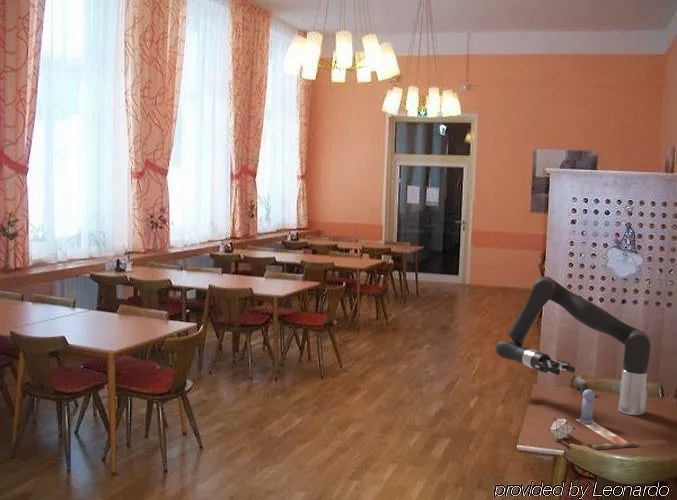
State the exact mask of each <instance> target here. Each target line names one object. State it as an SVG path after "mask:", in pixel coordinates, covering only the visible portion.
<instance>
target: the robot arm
mask: <svg viewBox="0 0 677 500" xmlns="http://www.w3.org/2000/svg"><path fill="white" fill-rule="evenodd" d="M548 301H552V302H553V303H556V304H557V305H559V306H561V307H562V308H563V309H564V310H565V311H566V312H567V313H568V314H570V315H571V316H572V317H573V318H574V319H575V320H577V321H578V322H579V323H582V324H583V325H585V326H586V327H587V328H590V329H592V330H594V331H597V332H600V333H602V334H605V335H609V336H610V337H612V338H614V339H616V340H617V341H618V342H620V343H621V344H623V345H624V355H623V363H622V372H621V382H620V392H619V402H618V410H619V412H621V413H623V414H626V415H631V416H641V415H643V414H645V413H646V405H647V396H648V391H647V389H646V386H647V377H648V376H647V375H648V368H649V363H650V351H651V341H650V337H649V335H647V333H646V332H644V331H642V330H640V329H638V328H636V327H634V326H631V325H629V324H627V323H625V322H623V321H621V320H620V319H619V318H617V317H616V316H613V314H612V313H610V312H608V311H606V310H605V309H603V308H601V306H598V305H596V304H595V303H593V302H591V301H589V300H587V299H585V298H583V296H580V295H578V294H576V293H574V292H572V291H570V290H569V289H568V288H566V287H564V286H562V285H561V284H560V283H559V282H557V281H556V280H554V279H553V278H552V277H550V276H544V275H543V276H540V277H538V278H537V279H536V280H535V281H534V283H533V285H532V289H531V291H530V295H529V297H528V300H527V302H526V303H525V305H524V307H522V308H523V309H522V310H521V312H520V313H519V314H518V316H517V317H516V319H515V320H514V322H513V324H512V325H511V327H510V329H509V331H508V336H509V337H510V338H511V340H510V341H507V340H501V341H499V342H498V343H497V344H496V346H495V352H496V354H497V356H499V357H501V358H503V359H507V360H511V361H515V362H517V363H519V364H522V365H523V366H527V368H528V367H529V368H530V369H533V370H535V371H538V372H542V373H544V374H546V373H549V374H554V375H557V376H559V375H561V371H562V370H563V371H566V372H569V373H572V374H574V373H575V372H576V367H575V366H572V365H571V363H570V362H569V361H568V362H567V361H565V360H562V359H557V360H555V359H551V356H550V355H549V354H547V353H544V352H542V351H538V350H535V349H532V348H528V347H525V346H523V345H524V341H525V339H526V337H527V335H528V333H529V331H530V330H531V328H532V326H533V324H534V323H535V320H536V318H537V316H538V315H539V313H540V312H541V310H542V309H543V307H544V306H545V305H546V304H547V302H548Z"/></svg>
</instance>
